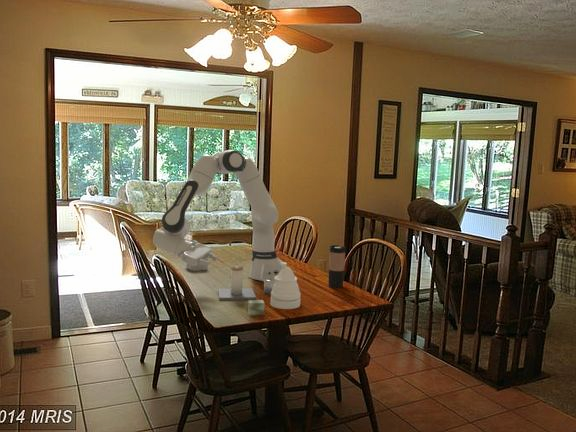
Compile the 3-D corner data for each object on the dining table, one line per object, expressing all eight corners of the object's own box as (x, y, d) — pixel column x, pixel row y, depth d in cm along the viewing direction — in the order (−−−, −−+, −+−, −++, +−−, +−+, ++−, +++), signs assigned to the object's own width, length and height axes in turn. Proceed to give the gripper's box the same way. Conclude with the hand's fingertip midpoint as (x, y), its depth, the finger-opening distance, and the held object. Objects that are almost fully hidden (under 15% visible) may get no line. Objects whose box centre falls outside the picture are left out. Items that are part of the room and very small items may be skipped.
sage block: (262, 311, 209) (263, 300, 209) (264, 315, 205) (264, 303, 205) (248, 312, 208) (248, 300, 207) (249, 315, 204) (249, 303, 204)
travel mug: (330, 288, 247) (333, 248, 244) (325, 284, 254) (327, 245, 252) (345, 288, 249) (347, 248, 246) (340, 284, 256) (342, 245, 254)
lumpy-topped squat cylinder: (191, 271, 271) (191, 255, 270) (183, 265, 282) (183, 250, 281) (209, 269, 276) (210, 253, 275) (201, 264, 287) (201, 249, 286)
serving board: (252, 290, 238) (252, 288, 238) (255, 299, 225) (255, 297, 224) (217, 291, 235) (218, 288, 235) (219, 300, 222) (219, 297, 222)
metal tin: (275, 290, 240) (275, 278, 239) (277, 294, 234) (278, 281, 234) (262, 290, 239) (263, 278, 238) (264, 294, 233) (265, 281, 232)
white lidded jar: (241, 291, 233) (242, 265, 231) (242, 294, 228) (243, 268, 226) (229, 291, 232) (230, 265, 230) (230, 294, 227) (231, 268, 225)
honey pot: (264, 303, 220) (265, 262, 218) (285, 298, 229) (287, 259, 226) (284, 311, 211) (286, 268, 208) (306, 305, 220) (308, 264, 217)
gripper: (178, 248, 221) (207, 261, 219) (196, 239, 240) (222, 250, 239) (174, 261, 222) (202, 274, 220) (192, 251, 242) (218, 262, 240)
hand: (213, 261), depth 230 cm, fingers open, 8 cm apart
